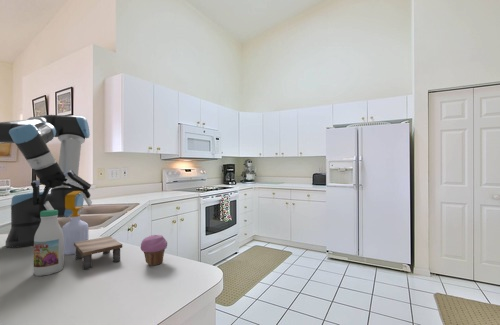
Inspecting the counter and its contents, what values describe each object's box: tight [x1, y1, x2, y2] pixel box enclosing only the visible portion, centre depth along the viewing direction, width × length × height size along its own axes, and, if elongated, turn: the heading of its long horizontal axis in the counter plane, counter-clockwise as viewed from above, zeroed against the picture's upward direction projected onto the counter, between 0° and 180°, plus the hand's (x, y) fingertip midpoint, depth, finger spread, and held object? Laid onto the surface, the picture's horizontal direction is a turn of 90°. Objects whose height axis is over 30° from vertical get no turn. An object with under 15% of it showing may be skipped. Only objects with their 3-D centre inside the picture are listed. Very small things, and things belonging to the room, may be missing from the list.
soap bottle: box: [61, 191, 89, 256], centre depth 101 cm, size 9×9×25 cm
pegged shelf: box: [74, 235, 123, 271], centre depth 91 cm, size 16×12×6 cm
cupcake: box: [140, 234, 168, 267], centre depth 86 cm, size 9×9×10 cm
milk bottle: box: [33, 210, 65, 277], centre depth 81 cm, size 8×8×20 cm
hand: (72, 210), depth 102 cm, fingers open, 13 cm apart
